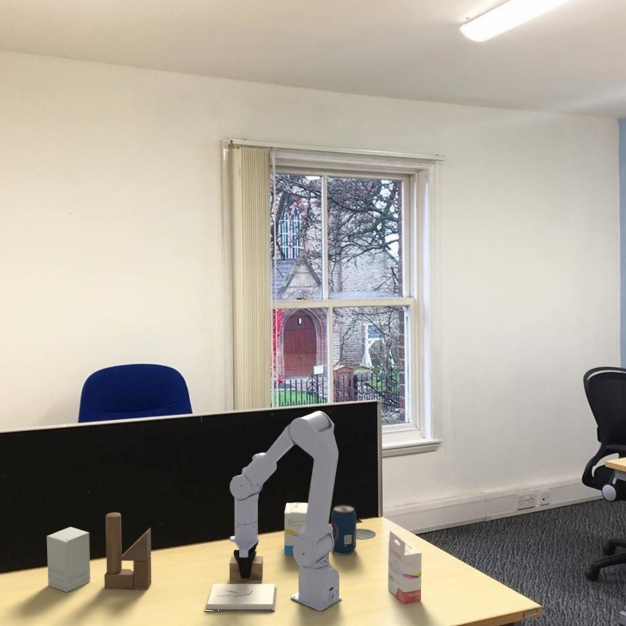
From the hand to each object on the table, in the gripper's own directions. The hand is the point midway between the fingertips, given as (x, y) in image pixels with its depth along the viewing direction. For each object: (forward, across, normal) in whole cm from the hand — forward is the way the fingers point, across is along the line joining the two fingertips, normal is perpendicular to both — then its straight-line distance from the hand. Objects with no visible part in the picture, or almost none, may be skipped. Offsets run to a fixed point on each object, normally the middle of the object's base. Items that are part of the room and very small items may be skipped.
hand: (246, 573), depth 174 cm
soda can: (+2, -17, +25) cm, 31 cm away
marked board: (+1, +11, 0) cm, 11 cm away
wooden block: (+2, +4, -29) cm, 29 cm away
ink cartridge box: (+2, +8, +39) cm, 40 cm away
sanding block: (+2, 0, 0) cm, 2 cm away
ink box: (+2, -19, +13) cm, 23 cm away
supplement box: (+2, +3, -44) cm, 44 cm away
